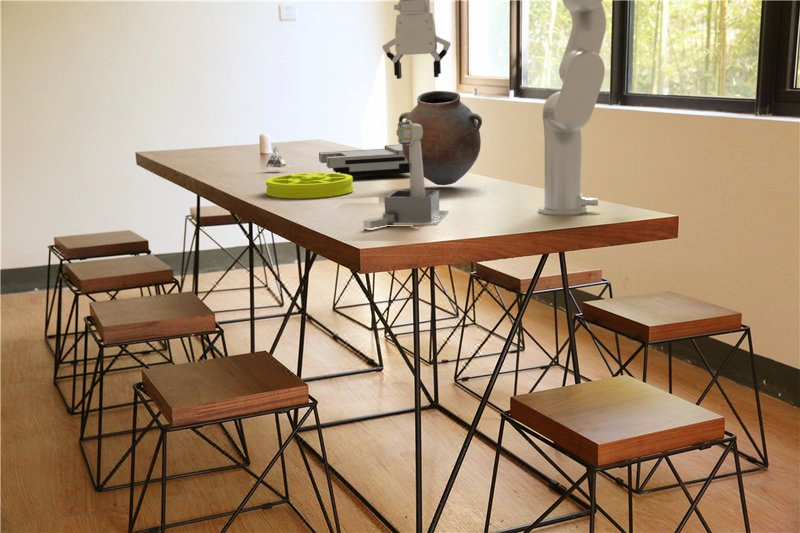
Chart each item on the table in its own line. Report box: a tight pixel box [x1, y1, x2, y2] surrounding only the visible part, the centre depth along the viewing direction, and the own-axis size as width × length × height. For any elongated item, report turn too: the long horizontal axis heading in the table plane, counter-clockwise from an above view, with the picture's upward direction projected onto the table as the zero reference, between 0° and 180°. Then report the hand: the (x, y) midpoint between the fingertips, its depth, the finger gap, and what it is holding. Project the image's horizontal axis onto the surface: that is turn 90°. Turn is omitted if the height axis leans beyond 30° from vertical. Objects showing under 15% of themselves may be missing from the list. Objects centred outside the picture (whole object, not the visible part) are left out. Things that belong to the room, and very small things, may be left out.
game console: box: [318, 144, 410, 178], centre depth 347 cm, size 21×32×8 cm, turn 104°
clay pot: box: [398, 90, 483, 186], centre depth 304 cm, size 26×25×30 cm
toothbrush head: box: [396, 119, 426, 197], centre depth 245 cm, size 5×7×25 cm
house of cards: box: [266, 146, 291, 168], centre depth 373 cm, size 9×9×8 cm
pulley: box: [265, 172, 354, 199], centre depth 305 cm, size 28×28×5 cm
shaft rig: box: [363, 189, 449, 228], centre depth 247 cm, size 18×30×7 cm, turn 168°
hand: (417, 77), depth 241 cm, fingers open, 9 cm apart
